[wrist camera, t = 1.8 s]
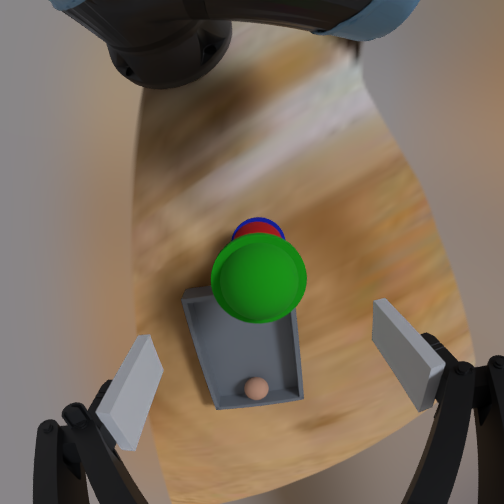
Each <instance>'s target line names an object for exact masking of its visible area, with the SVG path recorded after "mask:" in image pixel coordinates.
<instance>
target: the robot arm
mask: <svg viewBox="0 0 504 504" xmlns="http://www.w3.org/2000/svg"><path fill="white" fill-rule="evenodd" d="M49 1H51V3H52V5H53V7H54V8H55V9H57V10H59V11H60V10H61V11H62V12H64V13H65V14H67V15H68V16H70V17H71V18H73V19H74V20H75V21H77V22H78V23H80V24H81V25H82V26H84V27H85V28H87V29H88V30H90V31H91V32H92V33H94V34H95V35H96V36H98V37H99V38H100V39H102V40H103V41H105V42H106V43H107V47H108V50H109V54H110V57H111V60H112V62H113V64H114V66H115V67H116V69H117V70H118V71H119V72H120V73H121V74H122V75H123V76H124V77H126V78H127V79H129V80H130V81H132V82H133V83H135V84H137V85H139V86H142V87H146V88H152V89H168V88H174V87H178V86H182V85H185V84H187V83H190V82H192V81H194V80H196V79H198V78H200V77H201V76H203V75H204V74H206V73H207V72H209V71H210V70H211V69H212V68H213V67H214V66H215V65H216V64H217V63H218V62H219V61H220V60H221V59H222V57H223V56H224V54H225V53H226V51H227V49H228V47H229V44H230V41H231V37H232V23H231V21H240V22H251V23H261V24H269V25H276V26H283V27H289V28H295V29H300V30H305V31H310V32H311V33H312V34H316V35H333V36H338V37H342V38H347V39H351V40H356V41H370V40H373V39H376V38H381V37H383V36H385V35H387V34H389V33H390V32H392V31H393V30H395V29H396V28H397V27H398V26H400V25H401V24H402V23H403V22H404V21H405V20H406V19H407V18H408V16H409V15H410V14H411V12H412V11H413V10H414V9H415V7H416V6H417V4H418V2H419V1H420V0H49ZM372 340H373V342H374V343H375V345H376V346H377V348H378V349H379V351H380V352H381V354H382V355H383V357H384V358H385V360H386V362H387V363H388V365H389V366H390V368H391V369H392V371H393V372H394V374H395V375H396V377H397V378H398V380H399V382H400V383H401V385H402V386H403V388H404V389H405V391H406V393H407V394H408V396H409V397H410V399H411V401H412V402H413V404H414V405H415V407H416V409H417V410H418V412H421V411H424V410H426V409H428V408H431V407H432V406H433V403H434V400H435V399H436V400H437V402H438V403H439V405H438V408H437V410H436V413H435V415H434V421H433V425H432V428H431V431H430V434H429V437H428V440H427V443H426V446H425V449H424V451H423V454H422V457H421V460H420V462H419V465H418V467H417V470H416V472H415V474H414V477H413V479H412V481H411V484H410V486H409V488H408V490H407V492H406V495H405V497H404V499H403V501H402V503H401V504H447V503H448V500H449V497H450V494H451V492H452V489H453V486H454V482H455V479H456V476H457V473H458V469H459V466H460V462H461V458H462V454H463V450H464V446H465V441H466V437H467V432H468V427H469V421H470V415H471V409H472V408H473V409H474V416H475V425H476V434H477V446H478V447H477V448H478V472H479V474H478V475H479V476H478V477H479V478H478V481H479V482H478V504H504V356H501V355H496V356H493V357H491V358H490V359H489V361H488V364H487V366H481V367H474V366H473V365H472V364H470V363H468V362H464V361H461V362H458V360H457V359H456V358H455V357H454V356H453V355H452V354H451V353H450V352H449V351H448V350H447V349H446V348H445V347H444V346H443V345H442V344H441V343H440V342H439V340H438V339H437V338H436V337H435V336H433V335H431V334H429V333H427V332H426V333H423V334H419V333H418V332H417V331H416V330H415V329H414V328H413V327H412V326H411V324H410V323H409V322H408V321H407V320H406V319H405V318H404V317H403V316H402V315H401V314H400V313H399V312H398V311H397V310H396V309H395V308H394V307H393V306H392V305H391V304H390V303H389V302H388V301H387V300H386V298H383V299H379V300H374V301H373V329H372ZM163 371H164V370H163V368H162V365H161V363H160V360H159V358H158V355H157V352H156V350H155V347H154V345H153V342H152V339H151V336H150V334H149V335H138V337H137V339H136V341H135V342H134V344H133V345H132V347H131V349H130V351H129V353H128V354H127V356H126V358H125V359H124V361H123V363H122V365H121V366H120V368H119V370H118V372H117V373H116V375H115V377H114V379H113V380H107V381H106V382H105V383H104V384H103V385H102V386H101V388H100V390H99V392H98V394H97V395H96V397H95V399H94V400H93V402H92V404H91V406H90V407H89V409H88V411H87V409H86V408H85V406H84V405H83V404H82V403H77V402H75V403H72V404H70V405H68V406H66V407H65V408H64V409H63V411H62V418H63V419H64V420H65V422H66V423H67V426H59V425H58V423H57V422H56V421H55V420H52V419H51V420H46V421H44V422H43V423H41V424H40V425H39V427H38V431H37V438H36V448H35V458H34V474H33V504H90V503H89V497H88V490H87V482H86V474H87V476H88V479H89V481H90V484H91V486H92V488H93V490H94V492H95V495H96V497H97V499H98V501H99V503H100V504H148V502H147V501H146V499H145V498H144V496H143V495H142V493H141V492H140V490H139V489H138V487H137V485H136V484H135V482H134V481H133V479H132V478H131V476H130V474H129V472H128V471H127V469H126V467H125V466H124V464H123V462H122V461H121V459H120V457H119V455H118V453H117V451H116V450H115V449H114V448H115V445H116V443H117V444H118V445H119V447H120V448H121V449H122V450H130V451H135V450H136V447H137V444H138V441H139V438H140V435H141V433H142V430H143V426H144V424H145V421H146V418H147V415H148V412H149V409H150V407H151V404H152V401H153V398H154V395H155V393H156V390H157V387H158V384H159V381H160V379H161V376H162V373H163ZM85 472H86V473H85Z"/></svg>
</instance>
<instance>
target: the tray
mask: <svg viewBox="0 0 504 504" xmlns="http://www.w3.org/2000/svg"><path fill="white" fill-rule="evenodd" d="M181 301H182V305H183V309H184V312H185V316H186V319H187V323H188V326H189V329H190V333H191V336H192V339H193V342H194V346H195V349H196V352H197V355H198V358H199V361H200V364H201V367H202V370H203V373H204V376H205V379H206V382H207V385H208V388H209V391H210V394H211V397H212V399H213V402H214V405H215V408H216V410H222V409H234V408H244V407H254V406H262V405H270V404H277V403H284V402H290V401H296V400H302V399H304V394H303V381H302V369H301V358H300V347H299V337H298V327H297V317H296V307H295V308H294V309H293V310H292V311H291V312H290V313H289V314H287V315H286V316H284V317H282V318H281V319H278V320H276V321H273V322H269V323H263V324H254V323H247V322H243V321H240V320H238V319H236V318H234V317H232V316H230V315H229V314H228V313H226V312H225V311H224V310H223V309H222V308H221V307H220V305H219V304H218V302H217V301H216V299H215V297H214V295H213V292H212V287H211V286H204V287H197V288H190V289H186V290H185V292H184V294H183V296H182V298H181ZM253 377H260V378H263V379H264V380H265V381H266V382H267V384H268V387H269V390H268V393H267V395H266V396H265V397H264V398H262V399H260V400H253V399H250V398H249V397H248V396H247V395H246V393H245V390H244V387H245V384H246V382H247V381H248V380H249V379H251V378H253Z"/></svg>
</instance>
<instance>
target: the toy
mask: <svg viewBox="0 0 504 504" xmlns="http://www.w3.org/2000/svg"><path fill="white" fill-rule="evenodd" d="M306 283H307V274H306V268H305V265H304V262H303V260H302V258H301V256H300V255H299V253H298V252H297V250H296V249H295V248H294V247H293V246H292V245H291V244H290V243H289V242H287V241H286V240H285V237H284V234H283V232H282V230H281V229H280V227H279V226H278V225H277V224H276V223H275V222H273V221H271V220H269V219H266V218H261V217H256V218H250V219H248V220H246V221H244V222H242V223H241V224H240V225H239V226H238V227H237V228H236V230H235V231H234V234H233V236H232V240H231V242H230V243H228V244H227V245H226V246H225V247H224V248H223V249H222V250H221V251H220V253H219V254H218V256H217V258H216V260H215V262H214V265H213V268H212V272H211V287H212V292H213V295H214V297H215V299H216V301H217V302H218V304H219V305H220V307H221V308H222V309H223V310H224V311H225V312H226V313H228V314H229V315H230V316H232V317H234V318H236V319H238V320H240V321H243V322H247V323H254V324H263V323H269V322H273V321H276V320H278V319H281V318H282V317H284V316H286V315H287V314H289V313H290V312H291V311H292V310H293V309H294V308H295V307H296V306H297V305H298V303H299V302H300V301H301V299H302V297H303V295H304V292H305V289H306Z"/></svg>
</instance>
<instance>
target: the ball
mask: <svg viewBox="0 0 504 504" xmlns="http://www.w3.org/2000/svg"><path fill="white" fill-rule="evenodd" d="M244 390H245V393H246V395H247V396H248V397H249V398H250V399H253V400H260V399H262V398H264V397H265V396H266V395H267V393H268V390H269V387H268V384H267V382H266V381H265V380H264V379H263V378H260V377H253V378H251V379H249V380H248V381H247V382H246V384H245V387H244Z"/></svg>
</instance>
